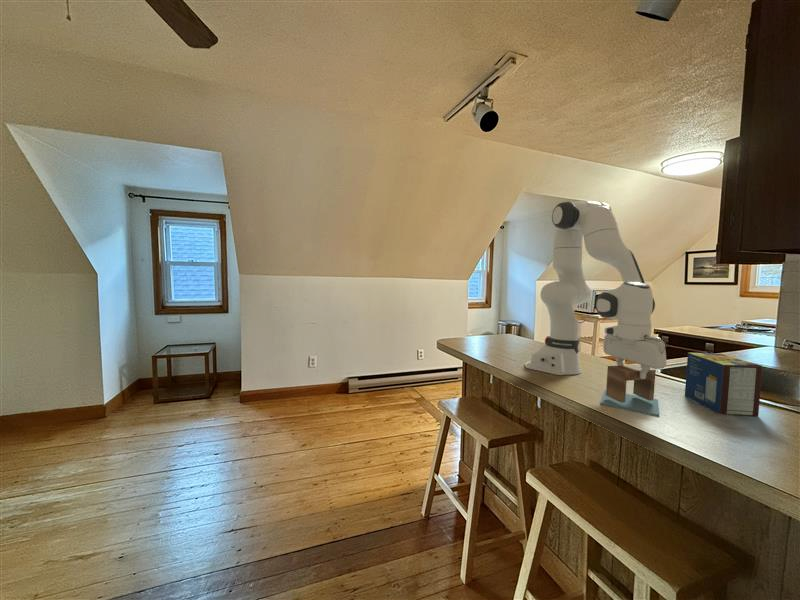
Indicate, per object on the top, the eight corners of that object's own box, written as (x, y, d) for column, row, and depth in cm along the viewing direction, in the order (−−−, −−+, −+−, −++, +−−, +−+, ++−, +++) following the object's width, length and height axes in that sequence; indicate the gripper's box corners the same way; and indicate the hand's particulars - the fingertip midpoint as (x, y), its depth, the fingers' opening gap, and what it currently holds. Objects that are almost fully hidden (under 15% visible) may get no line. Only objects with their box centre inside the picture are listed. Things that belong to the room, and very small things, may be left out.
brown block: (623, 371, 102) (655, 369, 104) (607, 366, 108) (639, 364, 110) (620, 402, 103) (653, 400, 105) (605, 395, 109) (636, 393, 111)
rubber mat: (600, 404, 106) (600, 402, 106) (604, 391, 118) (604, 389, 118) (659, 416, 97) (659, 414, 97) (657, 401, 109) (657, 399, 109)
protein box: (717, 397, 112) (721, 353, 111) (759, 417, 97) (764, 365, 96) (683, 395, 114) (686, 352, 113) (719, 414, 99) (723, 364, 98)
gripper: (674, 338, 96) (670, 384, 97) (616, 327, 116) (614, 365, 117) (655, 339, 95) (652, 385, 96) (600, 327, 115) (598, 366, 116)
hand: (631, 374), depth 107 cm, fingers closed on brown block, 6 cm apart
